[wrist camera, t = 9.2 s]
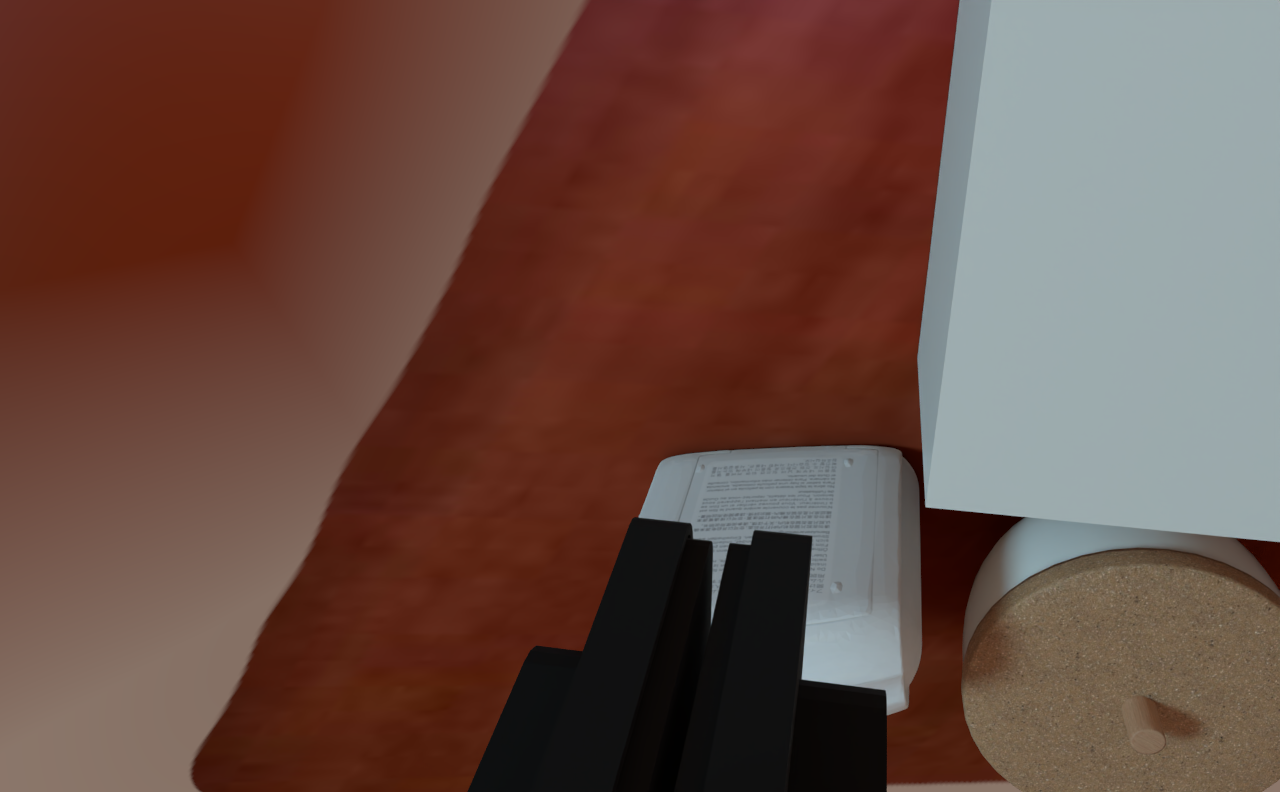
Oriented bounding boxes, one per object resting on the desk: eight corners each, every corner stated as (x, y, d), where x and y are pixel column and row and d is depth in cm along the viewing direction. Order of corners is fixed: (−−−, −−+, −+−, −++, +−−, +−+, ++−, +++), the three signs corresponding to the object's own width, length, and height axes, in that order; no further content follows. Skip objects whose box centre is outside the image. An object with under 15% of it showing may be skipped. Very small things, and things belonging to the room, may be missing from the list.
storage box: (1350, -140, 31) (1531, -125, 22) (1217, 380, 38) (1315, 545, 29) (976, -139, 33) (1007, -125, 24) (917, 357, 40) (925, 507, 31)
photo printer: (663, 538, 46) (592, 760, 35) (645, 446, 44) (565, 650, 33) (922, 530, 43) (933, 766, 32) (915, 432, 41) (924, 647, 31)
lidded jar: (1125, 717, 45) (1177, 915, 37) (896, 591, 45) (898, 764, 36) (1322, 533, 40) (1434, 717, 32) (1066, 388, 39) (1113, 536, 31)
